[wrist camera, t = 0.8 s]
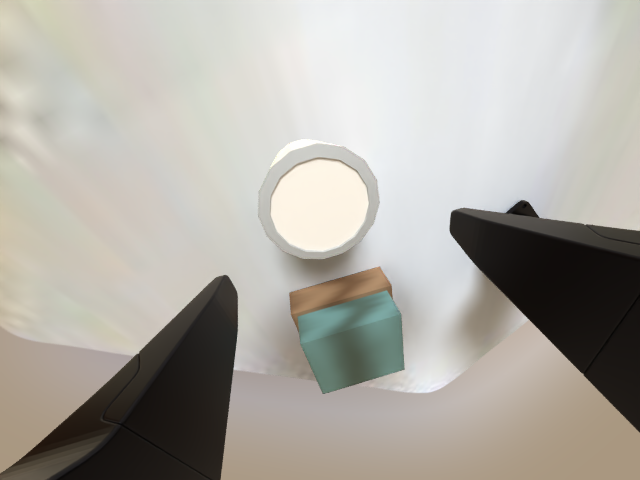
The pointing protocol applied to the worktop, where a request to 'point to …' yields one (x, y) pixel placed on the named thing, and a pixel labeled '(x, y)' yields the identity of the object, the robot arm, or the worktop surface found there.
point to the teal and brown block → (349, 329)
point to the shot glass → (317, 199)
